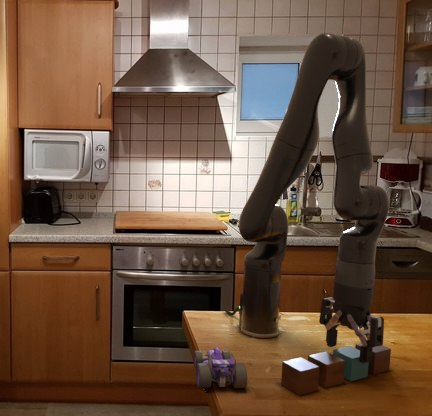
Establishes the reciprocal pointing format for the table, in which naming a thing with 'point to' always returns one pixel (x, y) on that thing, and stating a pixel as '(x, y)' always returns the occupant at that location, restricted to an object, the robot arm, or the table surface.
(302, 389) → the walnut block
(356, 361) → the teal block
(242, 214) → the robot arm
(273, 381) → the table surface
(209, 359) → the toy race car
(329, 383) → the walnut block
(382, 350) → the walnut block
